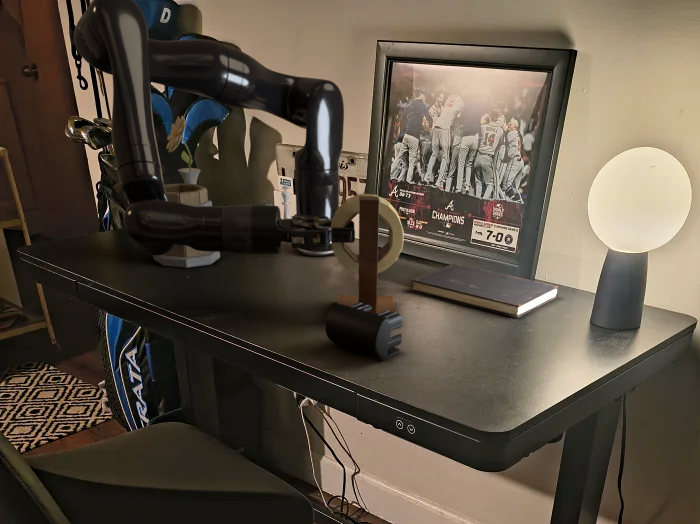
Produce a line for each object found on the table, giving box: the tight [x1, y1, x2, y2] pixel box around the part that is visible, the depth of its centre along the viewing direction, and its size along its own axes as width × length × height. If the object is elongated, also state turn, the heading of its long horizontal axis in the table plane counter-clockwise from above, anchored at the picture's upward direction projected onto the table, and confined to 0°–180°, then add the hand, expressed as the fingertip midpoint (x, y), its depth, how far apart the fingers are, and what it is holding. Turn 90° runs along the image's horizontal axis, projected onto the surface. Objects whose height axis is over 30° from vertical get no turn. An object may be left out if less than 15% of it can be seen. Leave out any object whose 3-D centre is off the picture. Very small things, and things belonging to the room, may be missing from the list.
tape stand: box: [336, 195, 397, 314], centre depth 126 cm, size 14×10×20 cm
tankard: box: [112, 181, 221, 269], centre depth 153 cm, size 20×13×15 cm, turn 80°
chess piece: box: [281, 183, 291, 219], centre depth 180 cm, size 5×5×10 cm
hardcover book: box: [410, 263, 559, 319], centre depth 142 cm, size 16×23×2 cm
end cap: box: [324, 303, 403, 361], centre depth 114 cm, size 10×7×7 cm
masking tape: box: [331, 193, 405, 275], centre depth 125 cm, size 5×12×12 cm, turn 93°
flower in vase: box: [165, 115, 201, 185], centre depth 168 cm, size 13×11×25 cm
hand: (354, 231), depth 124 cm, fingers closed on masking tape, 4 cm apart
